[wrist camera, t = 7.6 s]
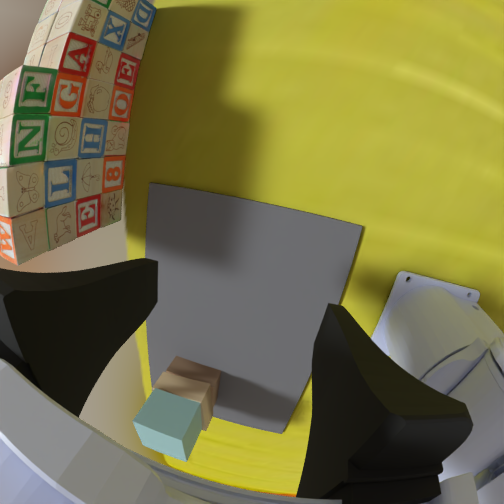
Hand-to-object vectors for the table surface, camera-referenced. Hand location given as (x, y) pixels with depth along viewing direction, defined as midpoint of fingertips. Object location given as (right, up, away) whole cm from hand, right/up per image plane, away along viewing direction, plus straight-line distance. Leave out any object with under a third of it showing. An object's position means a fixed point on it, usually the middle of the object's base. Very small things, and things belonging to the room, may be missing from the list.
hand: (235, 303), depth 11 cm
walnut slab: (-5, -12, +16) cm, 20 cm away
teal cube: (-6, -13, +11) cm, 18 cm away
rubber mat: (-2, -6, +14) cm, 15 cm away
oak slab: (-6, -12, +14) cm, 19 cm away
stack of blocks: (-13, +15, +9) cm, 22 cm away
